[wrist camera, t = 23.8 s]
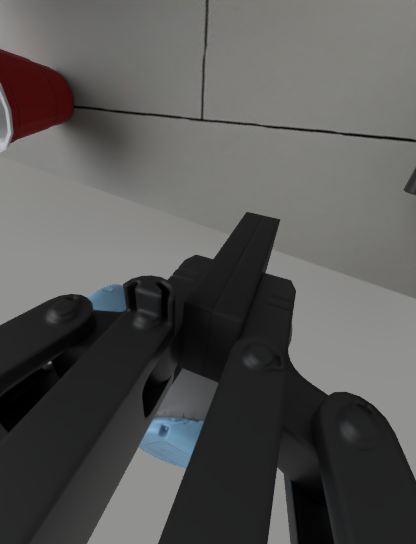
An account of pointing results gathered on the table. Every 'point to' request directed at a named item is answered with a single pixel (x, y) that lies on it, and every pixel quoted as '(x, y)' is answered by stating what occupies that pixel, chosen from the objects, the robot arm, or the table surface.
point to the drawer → (411, 184)
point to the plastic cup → (30, 98)
